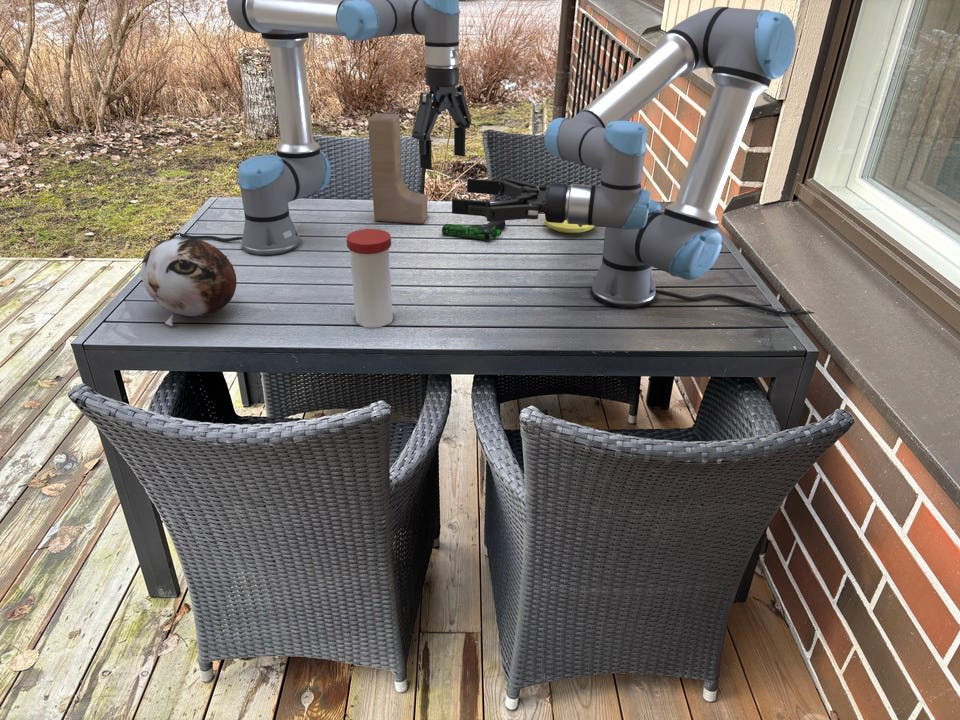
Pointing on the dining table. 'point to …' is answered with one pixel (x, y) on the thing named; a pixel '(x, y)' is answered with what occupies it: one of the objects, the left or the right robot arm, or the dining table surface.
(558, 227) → the yellow flat disc
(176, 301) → the plush toy
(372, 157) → the decorative block
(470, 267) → the dining table surface
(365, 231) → the lid
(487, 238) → the handgun
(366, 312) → the jar
